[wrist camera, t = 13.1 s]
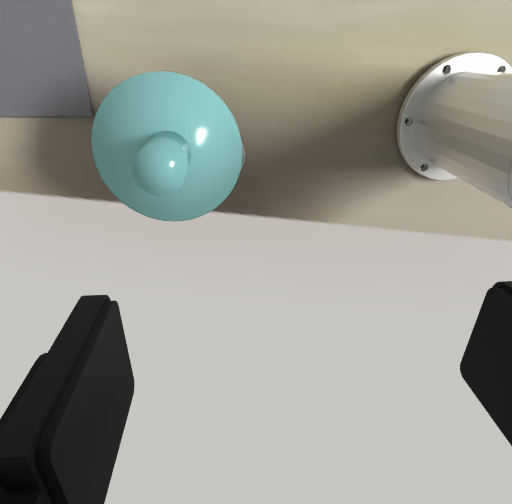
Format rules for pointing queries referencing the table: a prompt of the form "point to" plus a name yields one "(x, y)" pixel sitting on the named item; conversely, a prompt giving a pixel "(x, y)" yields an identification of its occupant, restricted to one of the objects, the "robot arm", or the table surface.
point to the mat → (41, 60)
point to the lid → (167, 146)
